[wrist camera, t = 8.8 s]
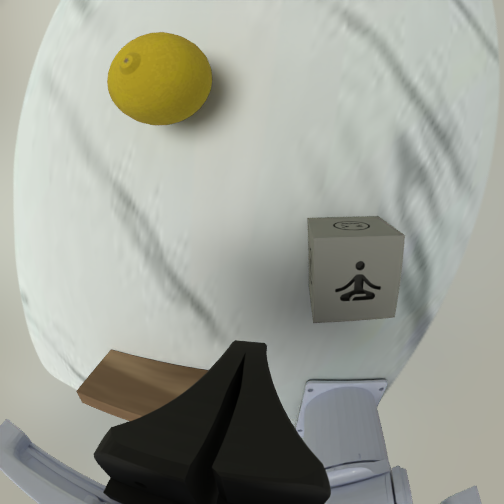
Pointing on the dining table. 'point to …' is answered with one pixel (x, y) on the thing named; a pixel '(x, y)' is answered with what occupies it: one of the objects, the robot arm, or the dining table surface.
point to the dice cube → (353, 268)
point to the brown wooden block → (135, 384)
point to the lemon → (159, 79)
